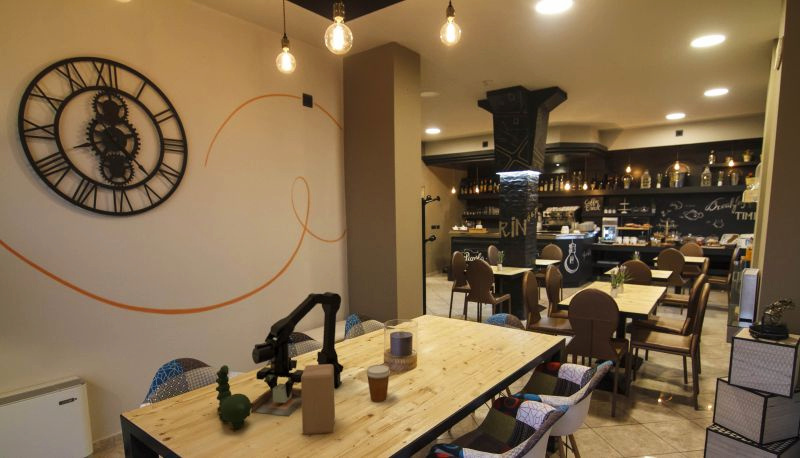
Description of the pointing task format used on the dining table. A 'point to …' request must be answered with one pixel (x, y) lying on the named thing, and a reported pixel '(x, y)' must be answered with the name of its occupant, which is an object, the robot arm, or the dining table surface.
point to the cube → (280, 393)
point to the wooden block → (318, 399)
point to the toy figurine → (231, 402)
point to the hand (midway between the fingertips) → (282, 396)
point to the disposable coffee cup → (378, 382)
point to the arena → (277, 404)
